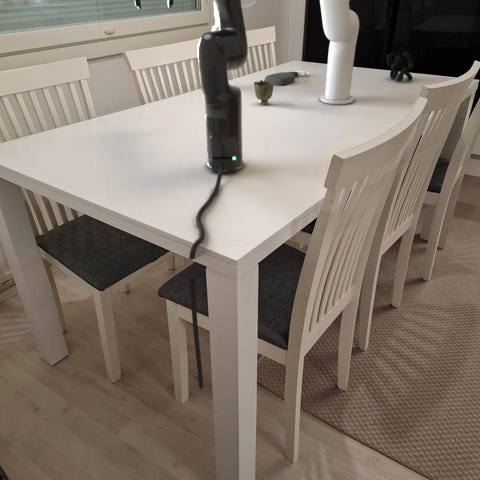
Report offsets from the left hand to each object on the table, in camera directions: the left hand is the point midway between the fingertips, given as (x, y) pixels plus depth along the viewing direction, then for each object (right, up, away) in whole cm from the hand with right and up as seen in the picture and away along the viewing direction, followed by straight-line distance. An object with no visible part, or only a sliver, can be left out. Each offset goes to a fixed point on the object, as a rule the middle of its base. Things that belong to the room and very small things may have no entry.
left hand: (154, 8), depth 126 cm
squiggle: (+96, +6, +75) cm, 122 cm away
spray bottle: (+46, +8, +79) cm, 92 cm away
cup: (+33, -13, +45) cm, 57 cm away
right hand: (+18, +7, +62) cm, 65 cm away
